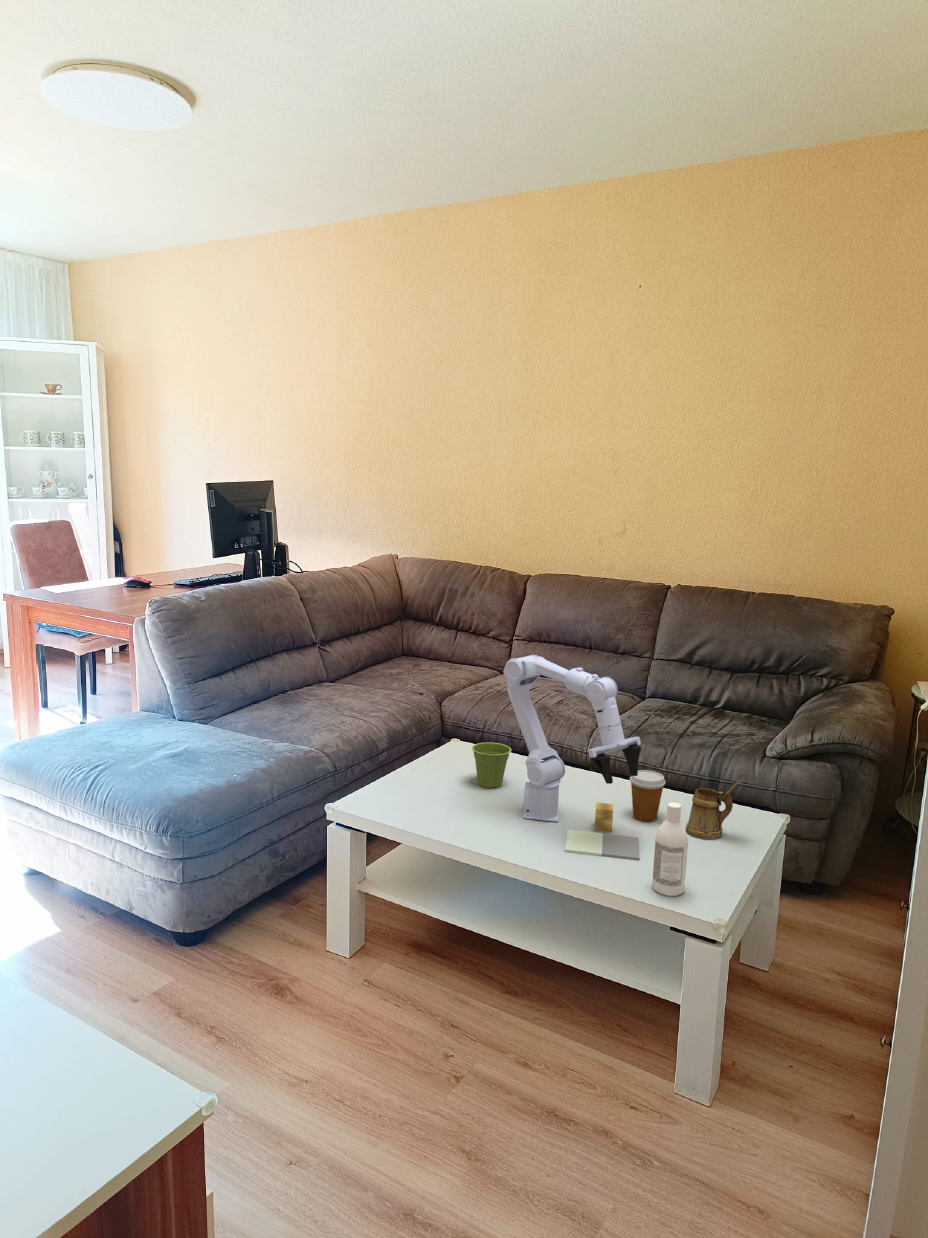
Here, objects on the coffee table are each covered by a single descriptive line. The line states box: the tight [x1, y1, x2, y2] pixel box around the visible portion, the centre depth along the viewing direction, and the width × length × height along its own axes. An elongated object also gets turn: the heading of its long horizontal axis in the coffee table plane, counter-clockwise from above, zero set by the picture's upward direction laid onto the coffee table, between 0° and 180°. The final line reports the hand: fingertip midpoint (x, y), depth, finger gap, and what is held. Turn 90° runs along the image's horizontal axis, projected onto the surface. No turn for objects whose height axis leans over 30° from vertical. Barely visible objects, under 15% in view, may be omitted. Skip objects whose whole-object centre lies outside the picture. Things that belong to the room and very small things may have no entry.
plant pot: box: [471, 741, 512, 789], centre depth 239 cm, size 12×12×11 cm
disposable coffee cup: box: [629, 769, 666, 823], centre depth 218 cm, size 10×10×12 cm
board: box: [564, 829, 640, 861], centre depth 201 cm, size 18×12×1 cm, turn 79°
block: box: [593, 802, 614, 833], centre depth 211 cm, size 4×4×6 cm
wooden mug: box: [685, 774, 745, 841], centre depth 208 cm, size 9×14×18 cm, turn 55°
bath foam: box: [651, 802, 689, 897], centre depth 178 cm, size 7×7×20 cm
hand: (622, 779), depth 200 cm, fingers open, 7 cm apart
